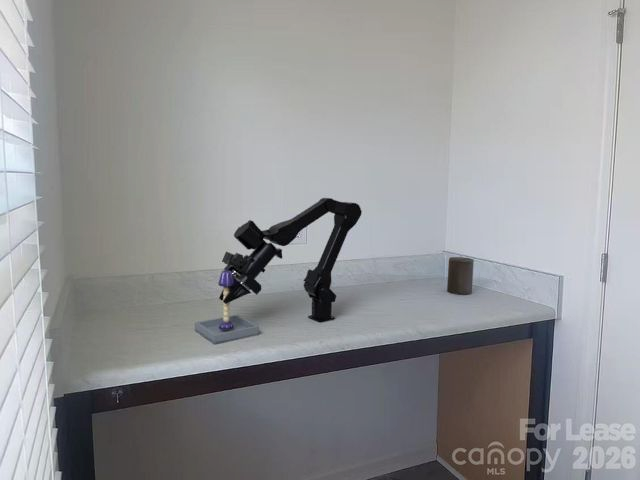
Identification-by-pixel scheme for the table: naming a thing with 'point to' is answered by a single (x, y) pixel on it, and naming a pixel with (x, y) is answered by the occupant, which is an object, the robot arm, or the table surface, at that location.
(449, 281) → the pillar candle
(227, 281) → the toy lamp
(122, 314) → the table surface
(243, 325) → the desk tray
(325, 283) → the robot arm
